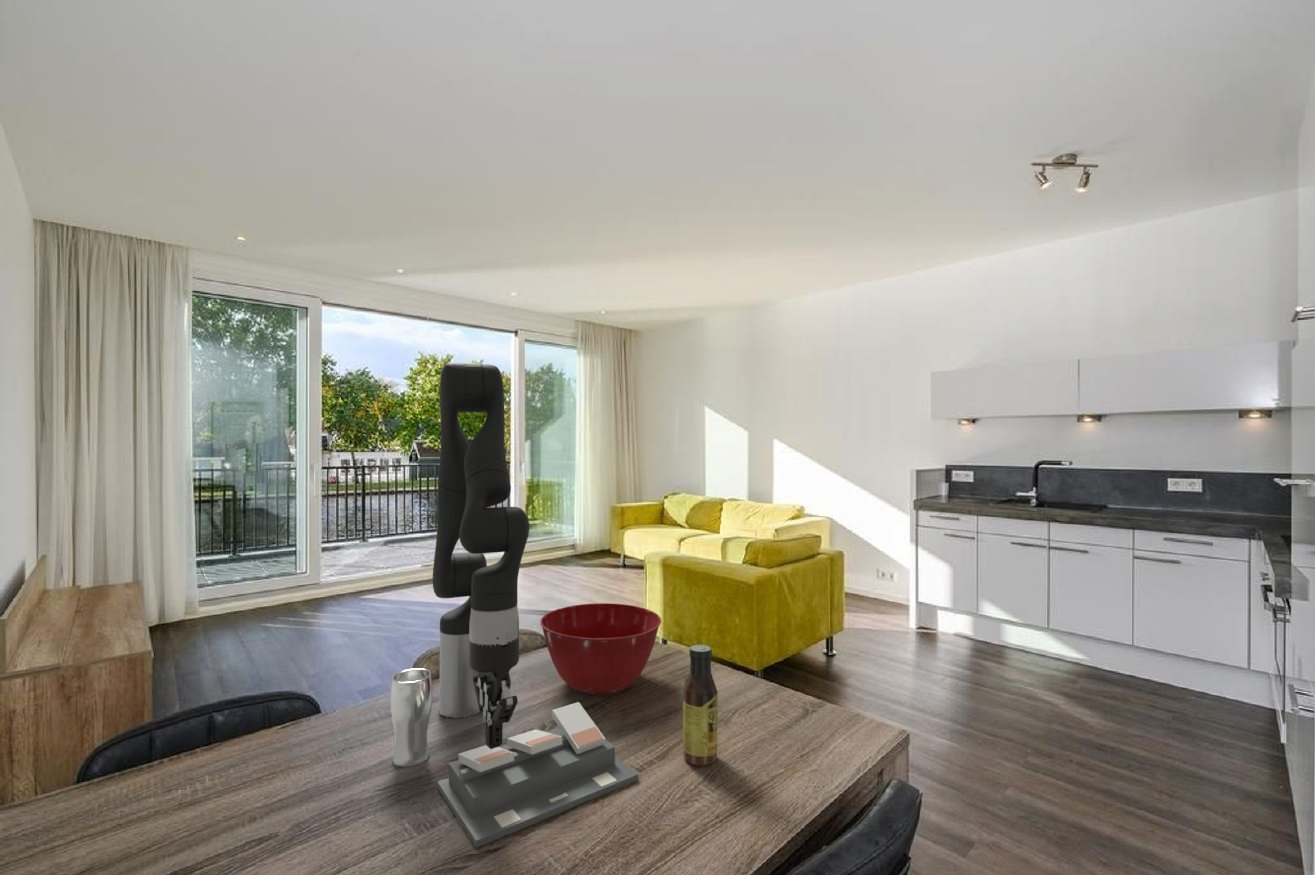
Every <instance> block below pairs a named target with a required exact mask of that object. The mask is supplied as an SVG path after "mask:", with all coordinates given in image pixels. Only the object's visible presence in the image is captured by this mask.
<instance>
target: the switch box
mask: <svg viewBox="0 0 1315 875" xmlns="http://www.w3.org/2000/svg"><path fill="white" fill-rule="evenodd" d="M597 728H598V729H599V730H600V727H598V726H597ZM546 732H547V733H551V734H554V735H558V736H562V745H559V746H556V747H553V748H550V749H547V750H544V751H541V752H538V753H535V754H532V755H531V754H529V753H526V752H523V751H520V750H518V749H515V748H512V747H509V746H508V744H507V743H506V744H504V745H503V744H502V745H501V746H499V747H500V748H503V749H506V750H508V751H511V752H513V753H514V761H512V762H509V763H506V764H503V765H500V766H497V767H494V768H491V769H488V770H485V771H483V772H478V771H476V770H474V769H472V768H470V767H468V766H466V765H464V764H462V763H460V762H459V759H457V760H454V761H451V762H449V763H447V764H448V769H447V770H448V775H447V776H448V777H446V778H443V779H441V780H437V782H436V784H437V785H436V786H437V787H436V788H437V790H438V791H439V793H440V794H441V796H442V797H443V799H444V800H445V802H446V804H447V805H448V806H449V808H450V810H451V811H452V813H453V814H454V817H456V819H457V821H458V822H459V823H460V826H461V827H462V828H463V830H464V831H465V833H466V834H467V836H468V837H469V839H470V841H471V843H474V844H473V846H475V848H476V847H477V848H479V847H481V846H484V845H486V844H488V843H491V842H493V841H496V840H498V839H500V838H503V837H505V836H504V835H506V836H508V835H510V834H513V833H515V832H517V830H518V831H519V830H522V829H524V828H527V827H530V826H531V825H532V826H533V825H534V824H537V823H538V822H542V821H544V820H546V819H548V818H552V817H553V816H556V815H559V814H560V813H563V812H565V811H568V810H570V809H573V808H575V807H577V806H579V805H583V804H584V803H588V802H590V801H591V800H594V799H596V798H598V797H602V796H603V795H605V794H609V793H610V792H611V793H612V792H613V791H616V790H618V789H621V788H623V787H624V786H627V785H631V784H632V783H635V782H637V781H639V773H637V772H636V771H635V770H633V769H632V768H631V767H630V766H628V764H626V763H625V762H623V761H622V760H621V759H620V758H618V757H617V756H616V747H615V745H613V744H612V742H609V741H608V740H605V745H602V746H599V747H596V748H594V749H591V750H588V751H585V752H582V753H580V754H576V752H575V751H574V749H573V748H572V746H571V745H570V743H569V742H568V740H567V739H566V737H565V735H564V734H563V732H562V731H561V729H560V728H559V727H557V728H553V729H550V730H547V731H546ZM495 839H496V840H495Z"/></svg>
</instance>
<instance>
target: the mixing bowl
mask: <svg viewBox="0 0 1315 875" xmlns="http://www.w3.org/2000/svg"><path fill="white" fill-rule="evenodd" d="M539 621H540V623H539V624H540V626H541V628H542V632H543V635H544V639H545V644H546V647H547V650H548V653H549V656H550V658H551V660H552V663H553V666H554V668H555V669H556V672H557V673H558V675H559V677H560V678H561V679H562V681H563V682H564V683H566V684H567V685H568V686H569V687H571V688H573V689H574V690H575V691H577V692H580V693H582V694H587V695H593V696H601V695H602V696H603V695H610V694H615V693H619V692H621V691H624V690H625V689H626V688H628V687H629V686H630V685H632V684H633V683H635V682H636V680H637V679H639V677H640V676H641V674H642V672H643V671H644V668H645V666H646V665H647V663H648V661H649V658H650V656H651V653H652V651H653V648H654V646H655V641H656V639H657V635H658V631H659V627H660V626H661V624H662V619H661V617H660V616H659V615H658V614H657V613H656V612H654V611H652V610H650V609H648V608H645V607H640V606H636V605H632V604H625V603H624V604H622V603H608V602H606V603H605V602H602V603H599V602H597V603H584V604H576V605H571V606H570V605H569V606H566V607H560V608H557V609H554V610H551V611H549V612H547V613H546V614H544V615H542V617H541V618H540V620H539Z"/></svg>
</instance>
